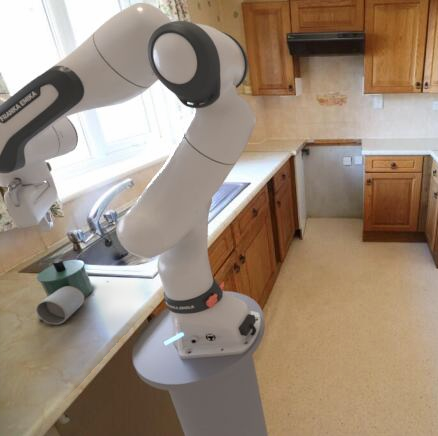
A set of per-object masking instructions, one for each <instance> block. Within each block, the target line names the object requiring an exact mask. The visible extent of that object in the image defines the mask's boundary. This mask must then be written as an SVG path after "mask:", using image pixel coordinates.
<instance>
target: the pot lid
mask: <svg viewBox="0 0 438 436" xmlns="http://www.w3.org/2000/svg"><path fill="white" fill-rule="evenodd" d="M51 264H52V265H50V266H48V267H45V268H44V269H43V270H41V271H40V272H38V274H37V276H36V280H37V281H38V282H39V283H41V282H42V283H50V282H56V281H60V280H63V279H66V278H69V277H71V276H73V275H75V274H77V273H78V272H79V271H81V270H82V269H83V268H85V262H84V261H83V260H81V259H70V260H64V261H63V259H62V258H59V259H56V260H53V261H52V263H51Z"/></svg>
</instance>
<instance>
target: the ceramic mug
mask: <svg viewBox="0 0 438 436" xmlns="http://www.w3.org/2000/svg"><path fill="white" fill-rule="evenodd" d="M84 302H85V298H84V295H83V293H82V292H81V291H80V290H79V289H78V288H76V287H73V286H65V287H62V288H60V289H58V290H57V291H55V292H54V293H53V294H51V295H50V296H47V297H46V298H44V299H42V300H41V301H40V302H38V304H37V305H36V308H35V312H36V314H37V317H38V318H39V319H40V320H42V321H43V322H45V323H47V324H50V325H55V326H56V325H62V324H64V323H65V322H66V321H67V320H68V319H69V318H70V317H71V316H73V314H74V313H75V312H76V311H77V310H79V309H80V307H81V306H82V305H83V304H84Z"/></svg>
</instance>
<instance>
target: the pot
mask: <svg viewBox="0 0 438 436" xmlns="http://www.w3.org/2000/svg"><path fill="white" fill-rule="evenodd" d="M40 284H41V287H42V288H43V290H44V292H45V294H46V296H47V297H48V296H50V295H51V294H53V293H54V292H55V291H57V290H58V289H60V288H62V287H65V286H73V287H76V288H78V289H79V290H80V291H81V292H82V293H83V295H84V299H85V298H87V297H88V296H89V295H91V293H92V292H93V290H94V288H93V284H92V282H91V279H90V277H89V274H88V273H87V271H86V267H84V268H83V269H82V270H81V271H79V272H78V273H77V274H75V275H73V276H71V277H69V278H66V279H63V280H60V281H56V282H50V283H42V282H40Z"/></svg>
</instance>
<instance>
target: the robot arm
mask: <svg viewBox="0 0 438 436" xmlns="http://www.w3.org/2000/svg"><path fill="white" fill-rule="evenodd" d="M248 71H249V59H248V55H247V53H246V51H245V49H244V47H243V46H242V45H241V43H240V42H239V41H238V40H237V39H236V38H235V37H233V36H232V35H230V34H229V33H226V32H225V31H220V30H219V29H217V28H215V27H213V26H210V25H207V24H202V23H197V22H196V23H195V22H190V21H187V20H175V21H173V20H172V19H171V18H170V17H169V16H168V15H167V14H166V13H164V11H162V10H161V9H159V8H158V7H156V6H154V5H152V4H150V3H147V2H137V3H134V4H131V5H130V6H128V7H126V8H124V9H122V10H121V11H119V12H117V13H115V14H114V15H113V16H111V17H110V18H109V19H108V20H106V21H105V22H104V23H103V24H101V25H100V26H99V28H97V29H96V30H95V31H94V32H93V33H92V34H90V35H89V37H87V38H86V40H84V41H83V42H82V43H81V44H80V45H78V46H77V47H76V48H75V49H74V50H73V51H72V52H71V53H69V54H68V55H67V56H65V57H64V58H62V59H61V60H59V61H58V62H57V63H55V64H54V65H52V66H51V67H50V68H48V69H47V70H45V71H44V72H43V73H41V74H40V75H38V76H36V77H35V78H34V79H32V80H31V81H29V82H28V83H26V85H24V86H22V88H21V89H19V90H18V91H17V92H16V93H14V94H10V93H6V92H0V187H2V188H7V191H5V192H4V194H3V200H4V203H5V207H6V209H7V212H8V214H9V216H10V218H11V219H12V222H13V224H14V225H15V227H17V229H24V228H29V227H34V226H38V227H39V229H40V231H41V232H42V233H49V232H51V231H52V229H53V228H54V227H55V225H54V222H53V219H52V213H51V212H52V211H51V208H52V206H53V205H54V203H55V202H56V200H57V199H58V198H59V197H58V189H57V187H56V183H55V180H54V178H53V175H52V173H51V172H52V168H53V167H52V166H51V163H50V162H49V161H48V160H51V159H55V158H59V157H61V156H64V155H66V154H69V153H71V152H73V151H74V150H75V149H77V145H78V143H79V134H78V131H77V129H76V127H75V125H74V123H73V122H72V121H71V120H70V118H69V117H70V116H71V115H75V114H78V113H82V112H86V111H91V110H95V109H100V108H106V107H111V106H112V107H113V106H117V105H121V104H124V103H127V102H128V101H131V100H132V99H135V98H137V97H138V96H140V95H142V94H143V93H145V92H146V91H147V90H148V89H150V88H151V87H153V85H154V84H155V83H156V82H158V81H159V82H160V83H161V84H162V85H163V86H164V87H166V88H167V90H169V91H170V92H172V93H173V94H174V95H175V96H176V98H177V99H178V100H179V101H180V102H181V104H182V105H183V106H185V107H187V108H191V109H193V113H192V115H191V118H190V120H189V121H188V123H187V125H186V126H185V128H184V130H183V132H182V134H181V136H180V137H179V139H178V141H177V143H176V145H175V146H174V148H173V150H172V152H171V154H170V155H169V157H168V159H167V160H166V162H165V163H164V165H163V166H162V167H161V168H160V169H159V171H158V172H157V173H156V174H155V175H154V177H153V178H152V179H151V181H150V182H149V183H148V185H147V186H146V187H145V189H144V190H143V191H142V192H141V193H140V195H139V197H138V198H137V199H136V201H135V202H134V203H133V204H132V205H131V207H130V208H129V209H128V210H127V211H126V212H125V213H124V214H123V216H122V217H120V219H119V220H118V222H117V223H116V226H115V227H116V228H115V232H116V237H117V239H118V242H119V243H120V245H121V247H122V248H124V249H125V251H127V252H128V253H129V254H131V255H134V256H135V257H139V258H142V259H152V258H155V257H158V259H157V271H158V274H159V278H160V281H161V284H162V288H163V290H164V291H163V297H164V301H165V305H166V307H167V308H168V309H169V310H170V313H171V318H172V328H173V333H172V338H171V339H169V340H167V341H165V342H164V343H165V345H167V344H169V343H171V342H173V344H174V346H175V347H176V348H177V349H178V351H179V357H180V358H181V359H191V358H202V357H214V356H225V355H237V354H242V353H243V352H245V351H246V350H247V349H248V348H249V347H250V346H251V345H252V343H253V342H254V340H255V339H256V337H257V335H258V332H259V330H260V326H261V317H260V314H259V313H258V312H254V311H250V309H249V307H248V305H247V303H246V302H245V301H243V300H241V299H239V298H237V297H236V296H235V295H231V294H229V293H227V292H225V291H226V290H223V289H224V287H225V281H222V282H221V283H220V284H219V283H218V281H217V280H216V278H214V276H213V272H212V267H211V263H210V258H209V250H208V248H209V247H208V242H209V241H208V235H209V216H210V211H211V206H212V203H213V197H214V196H215V194H217V193H218V191H219V190H220V188H221V187H222V186H223V184H224V182H225V181H226V179H227V177H228V176H229V174H230V173H231V172H232V171H233V168H234V167H235V166H236V165H237V162H238V161H239V159H240V158H241V157H242V154H243V153H244V152H245V149H246V147H247V146H248V143H249V141H250V139H251V136H252V134H253V132H254V130H255V126H256V122H257V119H256V117H257V116H256V113H255V111H254V108H253V107H252V106H251V104H250V103H249V102H248V100H246V99H245V98H244V97H242V96H241V95H240V93H239V92H238V90H237V89H238V88H239V87H240V86H241V85H242V84H243V83H244V81H245V80H246V78H247V75H248V73H249V72H248ZM189 353H190V354H189Z"/></svg>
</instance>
